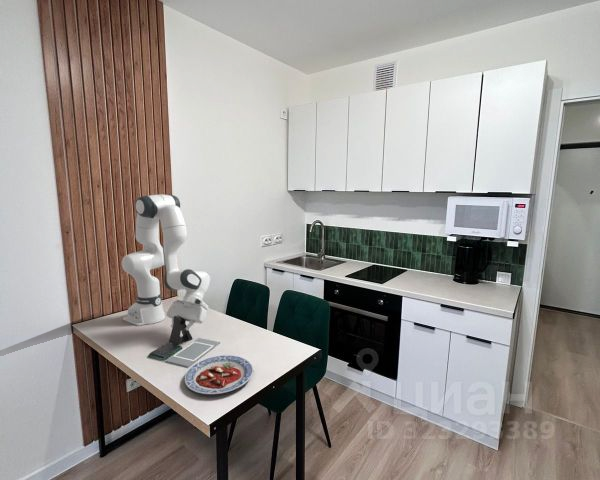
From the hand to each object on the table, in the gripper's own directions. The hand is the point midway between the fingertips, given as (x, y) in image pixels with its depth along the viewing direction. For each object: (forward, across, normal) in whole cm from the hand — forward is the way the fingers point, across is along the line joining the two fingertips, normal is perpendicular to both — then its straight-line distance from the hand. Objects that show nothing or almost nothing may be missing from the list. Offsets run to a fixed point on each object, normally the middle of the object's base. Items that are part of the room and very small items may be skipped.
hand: (179, 328), depth 156 cm
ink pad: (+12, +2, -3) cm, 13 cm away
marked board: (+9, +13, 0) cm, 16 cm away
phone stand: (+4, 0, +5) cm, 7 cm away
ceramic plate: (+18, +35, -8) cm, 40 cm away
